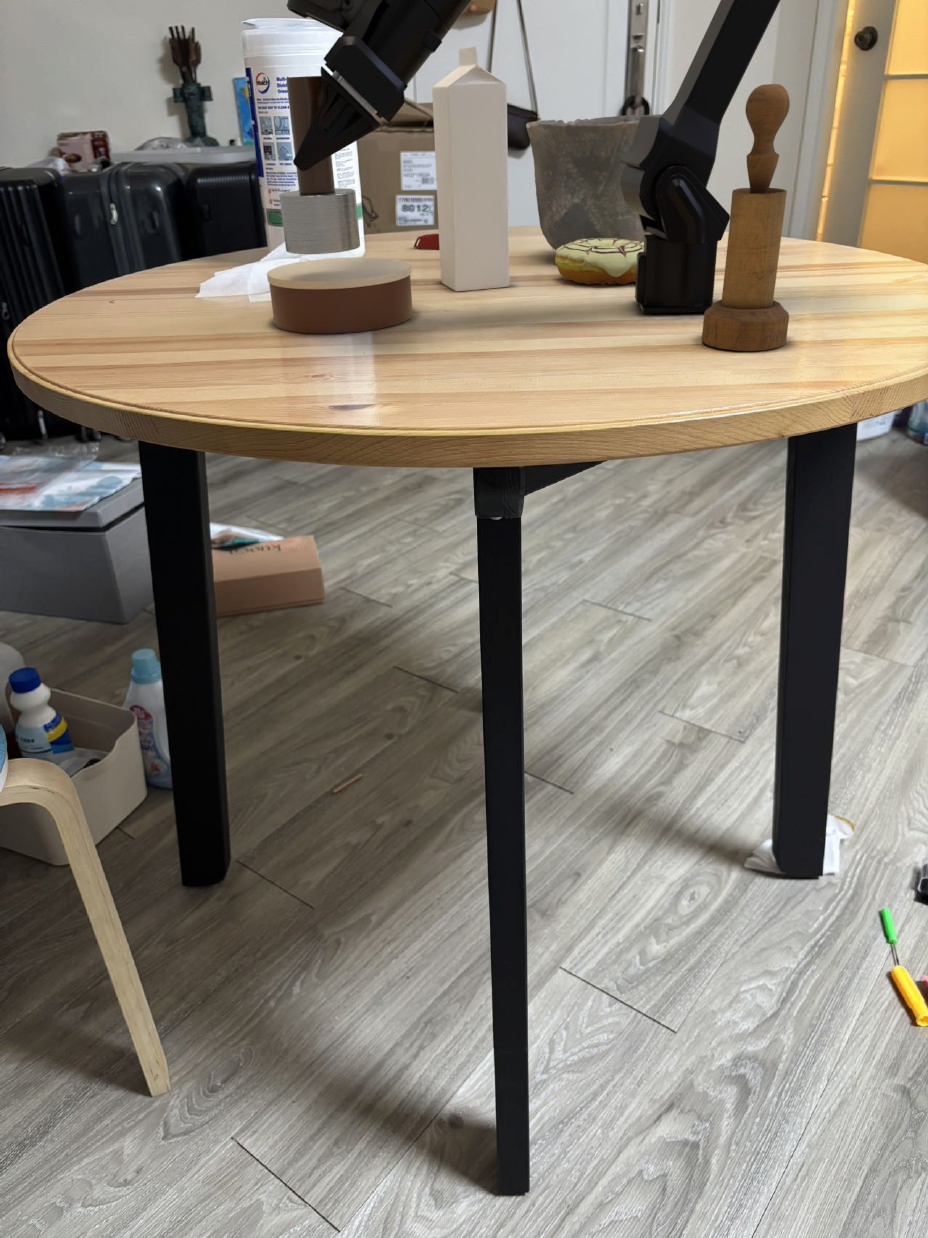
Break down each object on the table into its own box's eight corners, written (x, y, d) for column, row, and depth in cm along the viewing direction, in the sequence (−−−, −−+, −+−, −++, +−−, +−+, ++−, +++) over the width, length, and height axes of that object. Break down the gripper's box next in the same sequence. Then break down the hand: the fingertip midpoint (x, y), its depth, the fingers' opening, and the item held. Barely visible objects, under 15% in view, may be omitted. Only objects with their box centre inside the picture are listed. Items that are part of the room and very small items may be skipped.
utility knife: (498, 248, 126) (497, 232, 125) (495, 250, 125) (495, 233, 125) (415, 247, 130) (414, 231, 129) (412, 248, 129) (411, 232, 128)
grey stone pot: (550, 245, 127) (551, 117, 120) (685, 246, 122) (695, 112, 114) (510, 267, 113) (508, 123, 105) (662, 270, 107) (670, 118, 100)
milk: (455, 292, 101) (444, 47, 90) (440, 283, 106) (428, 49, 95) (511, 286, 102) (506, 44, 91) (493, 277, 107) (487, 47, 96)
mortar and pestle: (774, 354, 73) (806, 83, 64) (690, 347, 76) (710, 86, 67) (794, 335, 78) (826, 81, 69) (715, 329, 81) (736, 84, 72)
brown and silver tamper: (375, 245, 84) (361, 73, 78) (322, 256, 80) (303, 75, 73) (323, 241, 88) (306, 77, 81) (270, 251, 83) (247, 79, 77)
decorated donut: (628, 290, 98) (630, 251, 96) (537, 283, 103) (537, 245, 101) (671, 273, 105) (674, 236, 103) (584, 267, 111) (585, 232, 109)
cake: (422, 303, 96) (419, 255, 94) (402, 332, 85) (398, 279, 82) (293, 305, 97) (287, 258, 95) (256, 335, 86) (248, 282, 84)
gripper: (340, -65, 81) (228, 91, 85) (341, -105, 65) (203, 91, 69) (438, 40, 85) (327, 183, 90) (463, 27, 69) (326, 203, 73)
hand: (298, 165), depth 80 cm, fingers closed on brown and silver tamper, 3 cm apart
